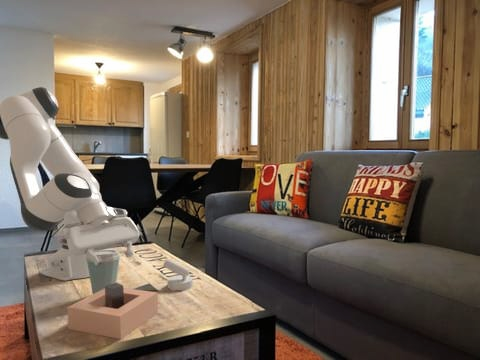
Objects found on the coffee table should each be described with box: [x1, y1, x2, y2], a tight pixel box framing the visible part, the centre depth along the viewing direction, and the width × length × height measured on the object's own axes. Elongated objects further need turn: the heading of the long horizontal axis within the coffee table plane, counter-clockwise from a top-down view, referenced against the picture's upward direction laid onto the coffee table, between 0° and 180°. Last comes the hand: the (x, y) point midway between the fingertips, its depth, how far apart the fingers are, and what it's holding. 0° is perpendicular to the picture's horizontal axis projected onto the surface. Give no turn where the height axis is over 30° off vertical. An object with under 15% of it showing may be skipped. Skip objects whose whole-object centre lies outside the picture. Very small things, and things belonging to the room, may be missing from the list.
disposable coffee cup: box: [86, 249, 122, 295], centre depth 128 cm, size 11×11×15 cm
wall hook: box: [163, 258, 194, 291], centre depth 137 cm, size 9×10×10 cm
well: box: [66, 287, 159, 340], centre depth 110 cm, size 17×17×6 cm
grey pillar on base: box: [105, 282, 124, 309], centre depth 110 cm, size 5×5×10 cm
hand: (115, 259), depth 109 cm, fingers open, 8 cm apart
